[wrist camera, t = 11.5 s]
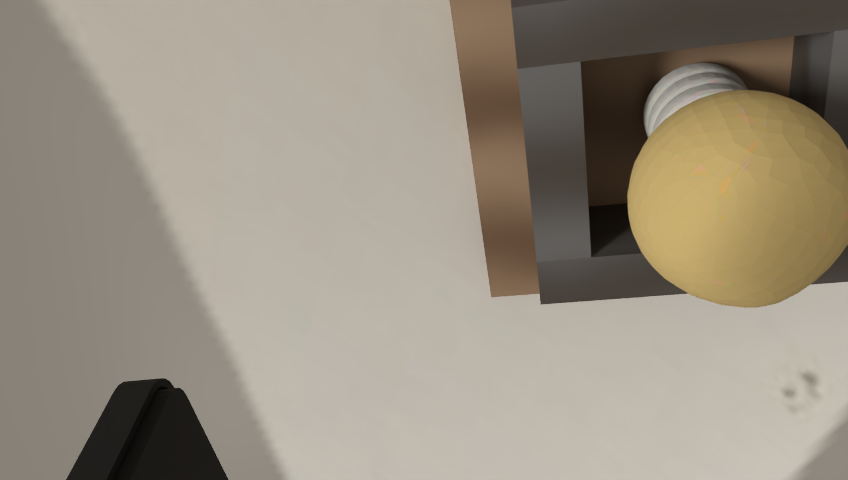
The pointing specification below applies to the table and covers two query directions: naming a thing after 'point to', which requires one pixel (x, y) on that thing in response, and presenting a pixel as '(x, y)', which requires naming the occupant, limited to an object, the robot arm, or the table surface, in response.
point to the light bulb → (737, 189)
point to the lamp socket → (611, 120)
